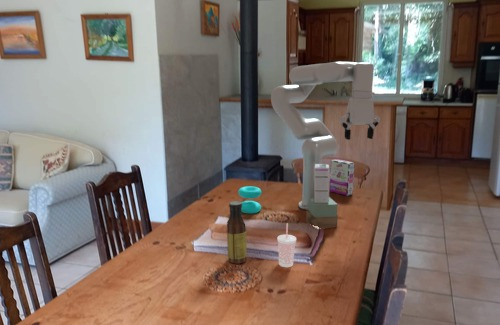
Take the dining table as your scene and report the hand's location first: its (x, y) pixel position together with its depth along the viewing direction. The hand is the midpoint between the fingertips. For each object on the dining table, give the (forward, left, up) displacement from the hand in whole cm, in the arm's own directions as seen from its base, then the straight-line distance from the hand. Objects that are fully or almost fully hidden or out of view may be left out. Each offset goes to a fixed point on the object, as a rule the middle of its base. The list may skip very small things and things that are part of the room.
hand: (358, 138), depth 174 cm
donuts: (-21, -39, -35) cm, 56 cm away
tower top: (+1, -15, -30) cm, 33 cm away
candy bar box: (-37, +12, -34) cm, 52 cm away
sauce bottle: (+26, -55, -34) cm, 70 cm away
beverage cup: (+32, -40, -34) cm, 62 cm away
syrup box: (+1, -15, -25) cm, 29 cm away
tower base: (+1, -15, -34) cm, 38 cm away
